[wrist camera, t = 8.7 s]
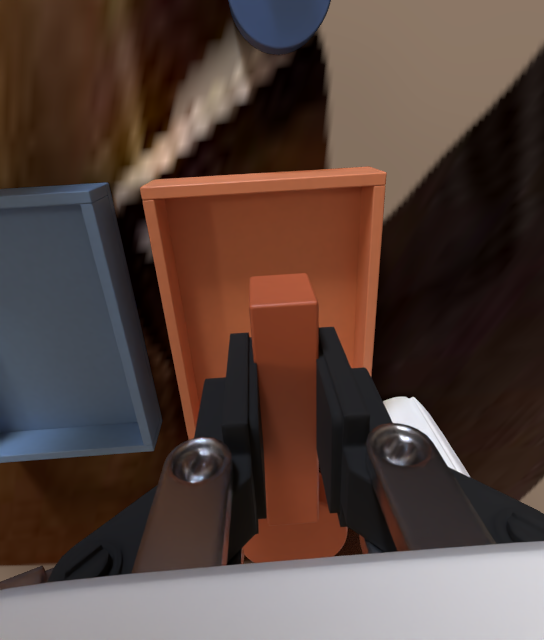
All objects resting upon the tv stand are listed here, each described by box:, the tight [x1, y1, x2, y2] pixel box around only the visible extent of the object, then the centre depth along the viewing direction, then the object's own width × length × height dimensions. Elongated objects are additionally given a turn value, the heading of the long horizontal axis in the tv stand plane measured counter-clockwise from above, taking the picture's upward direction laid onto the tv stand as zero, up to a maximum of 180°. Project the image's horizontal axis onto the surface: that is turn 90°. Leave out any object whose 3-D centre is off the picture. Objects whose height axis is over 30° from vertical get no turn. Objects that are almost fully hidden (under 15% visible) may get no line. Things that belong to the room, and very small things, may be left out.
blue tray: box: [0, 183, 162, 463], centre depth 20 cm, size 14×10×2 cm
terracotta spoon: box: [243, 273, 348, 563], centre depth 12 cm, size 11×4×2 cm, turn 3°
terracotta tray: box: [140, 167, 386, 440], centre depth 20 cm, size 14×10×2 cm
